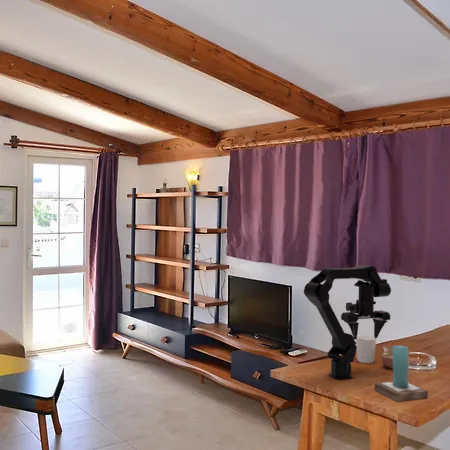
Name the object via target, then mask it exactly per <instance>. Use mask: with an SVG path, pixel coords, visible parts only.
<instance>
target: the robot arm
mask: <svg viewBox="0 0 450 450" xmlns="http://www.w3.org/2000/svg"><path fill="white" fill-rule="evenodd" d="M346 279H350V280H351V279H356V280H357V282H355V283H354V284H353V286H354V287H358V298H357V299H356V301H355V303H353V302H352V301H351V302H345V311H346V312H342V313H341V315H340V320H341V321H343V322H344V323H346V324H347V325H348V326H349V328H350V332H351V333H347V332H345V330H344V329H343V326H342V325H341V323H340V322H339V320H338V317H337V315H336V313H335V312H334V310H333V308H332V306H331V304H330V293H329V292H330V291H331V289H332V288H333V283H334V281H335V280H346ZM391 292H392V288H391V285H390V283H388V279H386V278H381V276H380V274H379V272H378V271H377V268H376V267H375V266H373V265H367V264H358V265H354V266H353V267H348V268H346V267H345V268H343V267H342V268H338V267H337V268H334V267H333V268H331V267H330V268H329V267H324V268H322V269H321V270H320V272H319V273H318V274H317V275H315V276H314V277H312V278H311V279H310V280H309V282H307V283H306V284H305V286H304V288H303V294H304V296H305V297H306V299H307V300H308V301H309V302H310V303H311V304H313V306H315V308H316V309H317V311H318V313H319V315H320V316H321V319H322V321H323V322H324V324H325V327H326V328H327V330H328V332H329V334H330V336H331V345H332V346H331V348H330V349H329V350H328V352H327V358H328V359H331V360H330V364H331V365H330V368H331V369H330V373H328V375H329V376H330V377H331V378H334V379H336V380H344V379H345V380H346V379H353V376H352V363H354V360H355V356H356V355H357V343H356V339H357V336H358V331H359V325H360V323H359V322H358V320H366V319H372V321H373V323H374V324H373V336H374V337H375V338H376V339H378V337H379V335H380V333H381V331H382V329H383V327H384V326H385V324H386V323H388V321H390V320H391V313H390V312H388V311H385V310H374V309H375V305H376V303H377V301H376V300H374V299H375V298H381V297H382V298H384V297H389V296H390V295H391Z"/></svg>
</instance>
